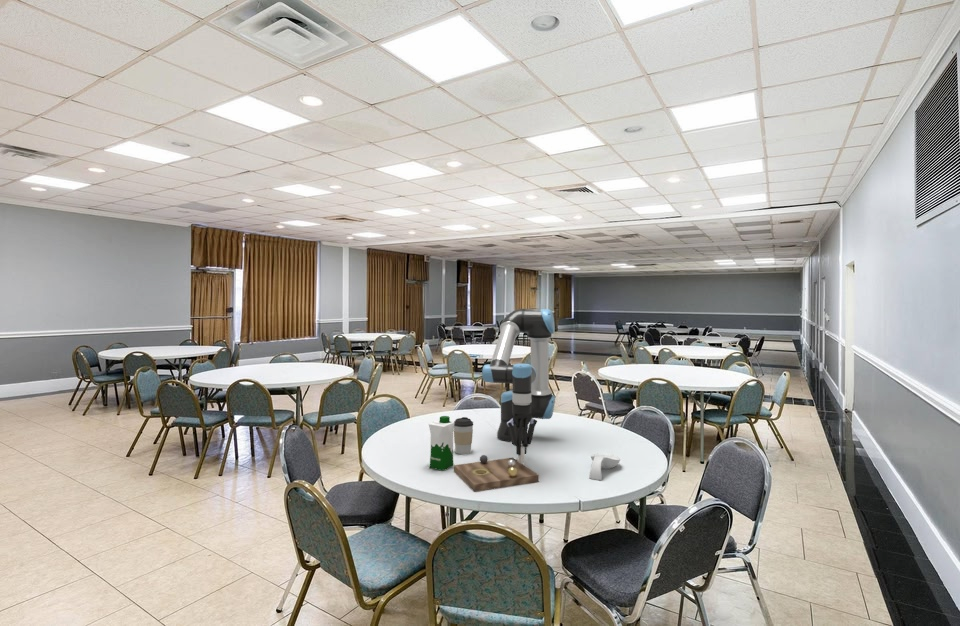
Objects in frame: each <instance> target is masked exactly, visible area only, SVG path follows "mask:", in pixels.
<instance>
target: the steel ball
mask: <svg viewBox="0 0 960 626" xmlns="http://www.w3.org/2000/svg"><path fill="white" fill-rule="evenodd" d="M507 464H508V467H515V465H516V463H515V461H514V460H512V459H511V460H509V461H508V463H507Z"/></svg>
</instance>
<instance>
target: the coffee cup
mask: <svg viewBox="0 0 960 626" xmlns="http://www.w3.org/2000/svg"><path fill="white" fill-rule="evenodd" d="M453 422H454V423H455V424H454V431H453V443H454V448H455V449H454V450H455V454H458V455H469V454H471V451H472V443H473V431H474V430H473V427H474V421H472V420H471V418H468V417H466V416H464V417H460V418H459V417H458V418H456V419H455V420H454V421H453Z"/></svg>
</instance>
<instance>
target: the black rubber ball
mask: <svg viewBox="0 0 960 626" xmlns="http://www.w3.org/2000/svg"><path fill="white" fill-rule="evenodd" d="M487 461H489V458H488V455H485V454H481V456H479V462H481V463H486V462H487Z"/></svg>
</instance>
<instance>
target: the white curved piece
mask: <svg viewBox="0 0 960 626" xmlns="http://www.w3.org/2000/svg"><path fill="white" fill-rule="evenodd" d="M590 458H591V461H592V464H591V467H590V472H589V479H591V480H594V481H595V480H596V481H602V479H603V477H602V476H603V475H602V469H603V468H605V469H604V470H609V468H611V469H613V468H614V467H616V466H618V464H619V463H620V461H621V457H619V456H617V455H614V454H613V455H612V454H606V453H605V454H603V453H597V454H596V453H595V454H592V455H590Z"/></svg>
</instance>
